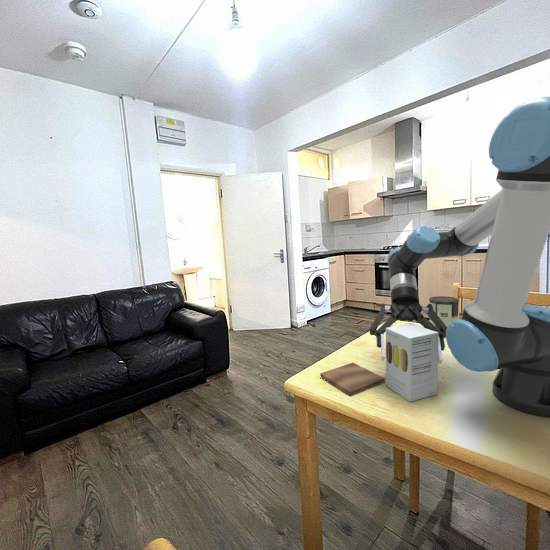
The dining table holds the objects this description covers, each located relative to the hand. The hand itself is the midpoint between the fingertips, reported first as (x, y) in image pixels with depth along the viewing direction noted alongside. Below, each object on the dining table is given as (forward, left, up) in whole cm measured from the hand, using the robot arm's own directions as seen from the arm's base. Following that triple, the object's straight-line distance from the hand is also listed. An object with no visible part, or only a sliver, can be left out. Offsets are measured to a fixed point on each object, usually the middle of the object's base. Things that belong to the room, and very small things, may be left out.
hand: (411, 360), depth 78 cm
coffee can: (+22, -48, -9) cm, 54 cm away
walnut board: (+14, +8, -9) cm, 18 cm away
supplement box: (+1, -1, -9) cm, 9 cm away
